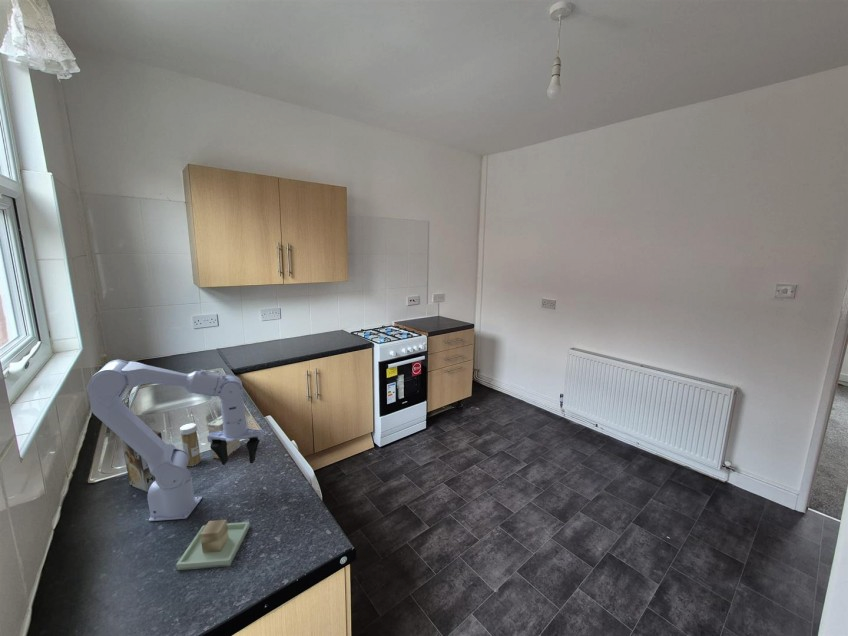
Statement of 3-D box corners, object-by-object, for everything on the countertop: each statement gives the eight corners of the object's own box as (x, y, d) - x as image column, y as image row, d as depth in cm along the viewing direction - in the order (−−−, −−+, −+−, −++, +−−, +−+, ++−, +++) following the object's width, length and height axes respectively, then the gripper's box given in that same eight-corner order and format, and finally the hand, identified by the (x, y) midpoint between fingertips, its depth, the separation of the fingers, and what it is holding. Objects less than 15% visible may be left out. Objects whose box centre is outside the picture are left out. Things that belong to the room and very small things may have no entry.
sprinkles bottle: (201, 464, 114) (196, 426, 112) (184, 469, 112) (179, 430, 109) (201, 457, 118) (196, 421, 116) (185, 462, 116) (179, 425, 113)
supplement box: (229, 446, 125) (225, 412, 123) (241, 447, 124) (237, 413, 122) (211, 459, 117) (206, 423, 115) (223, 460, 116) (219, 425, 114)
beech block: (202, 552, 80) (200, 534, 79) (211, 538, 84) (209, 520, 83) (220, 551, 80) (218, 532, 79) (228, 537, 84) (226, 519, 83)
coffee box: (170, 479, 107) (162, 432, 104) (147, 492, 101) (138, 442, 98) (151, 472, 110) (143, 426, 107) (127, 485, 104) (119, 436, 101)
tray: (176, 570, 76) (176, 564, 76) (203, 530, 87) (202, 525, 87) (230, 565, 77) (229, 560, 77) (249, 527, 88) (249, 521, 88)
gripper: (199, 426, 93) (205, 472, 95) (255, 424, 94) (260, 469, 97) (212, 414, 100) (217, 457, 102) (264, 412, 101) (268, 454, 103)
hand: (239, 462), depth 100 cm, fingers open, 7 cm apart
